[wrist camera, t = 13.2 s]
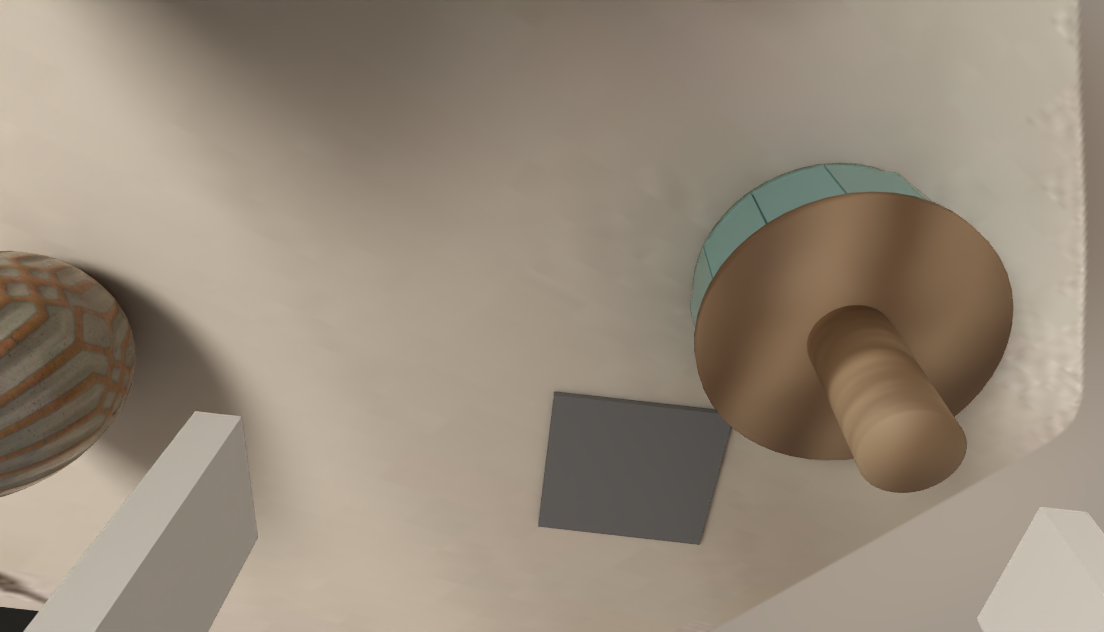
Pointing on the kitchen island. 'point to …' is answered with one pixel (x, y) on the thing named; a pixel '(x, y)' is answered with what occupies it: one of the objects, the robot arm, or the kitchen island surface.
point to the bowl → (785, 209)
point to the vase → (56, 366)
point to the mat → (631, 467)
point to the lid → (857, 334)
